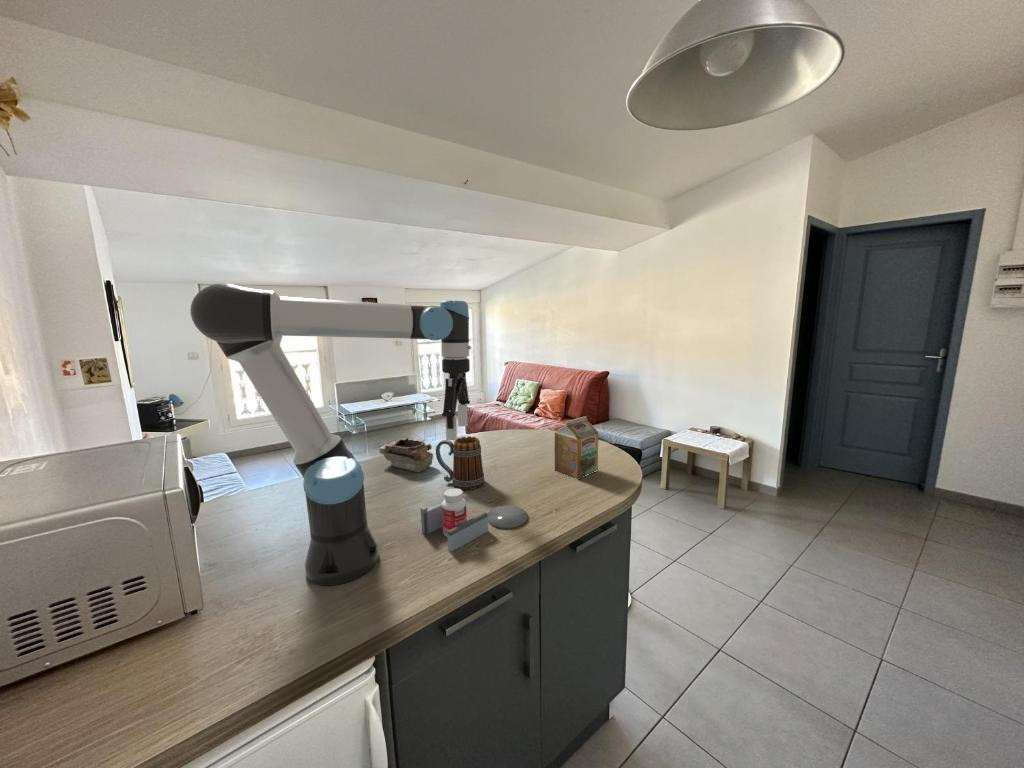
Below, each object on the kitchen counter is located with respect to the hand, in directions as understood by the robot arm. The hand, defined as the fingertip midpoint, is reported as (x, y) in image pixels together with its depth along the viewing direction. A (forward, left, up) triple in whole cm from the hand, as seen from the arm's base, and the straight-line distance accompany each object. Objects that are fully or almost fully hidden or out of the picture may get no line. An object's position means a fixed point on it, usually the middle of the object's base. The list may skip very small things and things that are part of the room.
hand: (457, 432), depth 112 cm
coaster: (+3, -16, -22) cm, 27 cm away
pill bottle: (-11, -11, -22) cm, 27 cm away
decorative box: (+4, +38, -22) cm, 45 cm away
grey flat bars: (-11, -11, -22) cm, 27 cm away
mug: (+9, +11, -22) cm, 27 cm away
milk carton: (+42, -12, -22) cm, 49 cm away
